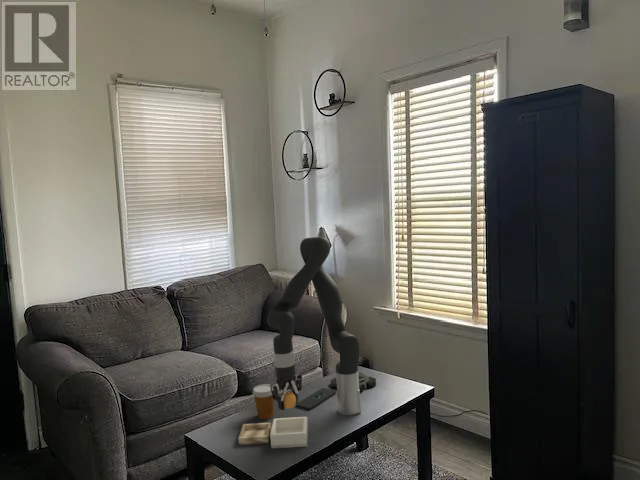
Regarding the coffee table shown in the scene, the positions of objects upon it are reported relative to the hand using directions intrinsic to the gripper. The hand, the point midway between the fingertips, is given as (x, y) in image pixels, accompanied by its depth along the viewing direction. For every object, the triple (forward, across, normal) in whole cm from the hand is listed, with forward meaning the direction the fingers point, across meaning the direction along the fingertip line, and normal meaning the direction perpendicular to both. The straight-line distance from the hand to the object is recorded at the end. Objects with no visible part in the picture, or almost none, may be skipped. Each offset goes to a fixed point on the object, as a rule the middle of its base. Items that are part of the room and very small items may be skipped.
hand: (288, 406), depth 181 cm
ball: (-2, 0, 0) cm, 2 cm away
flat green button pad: (+14, -52, -14) cm, 55 cm away
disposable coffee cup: (+13, -6, -22) cm, 27 cm away
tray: (+12, +8, -12) cm, 19 cm away
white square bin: (+13, 0, 0) cm, 13 cm away
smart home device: (+14, -30, -16) cm, 37 cm away
